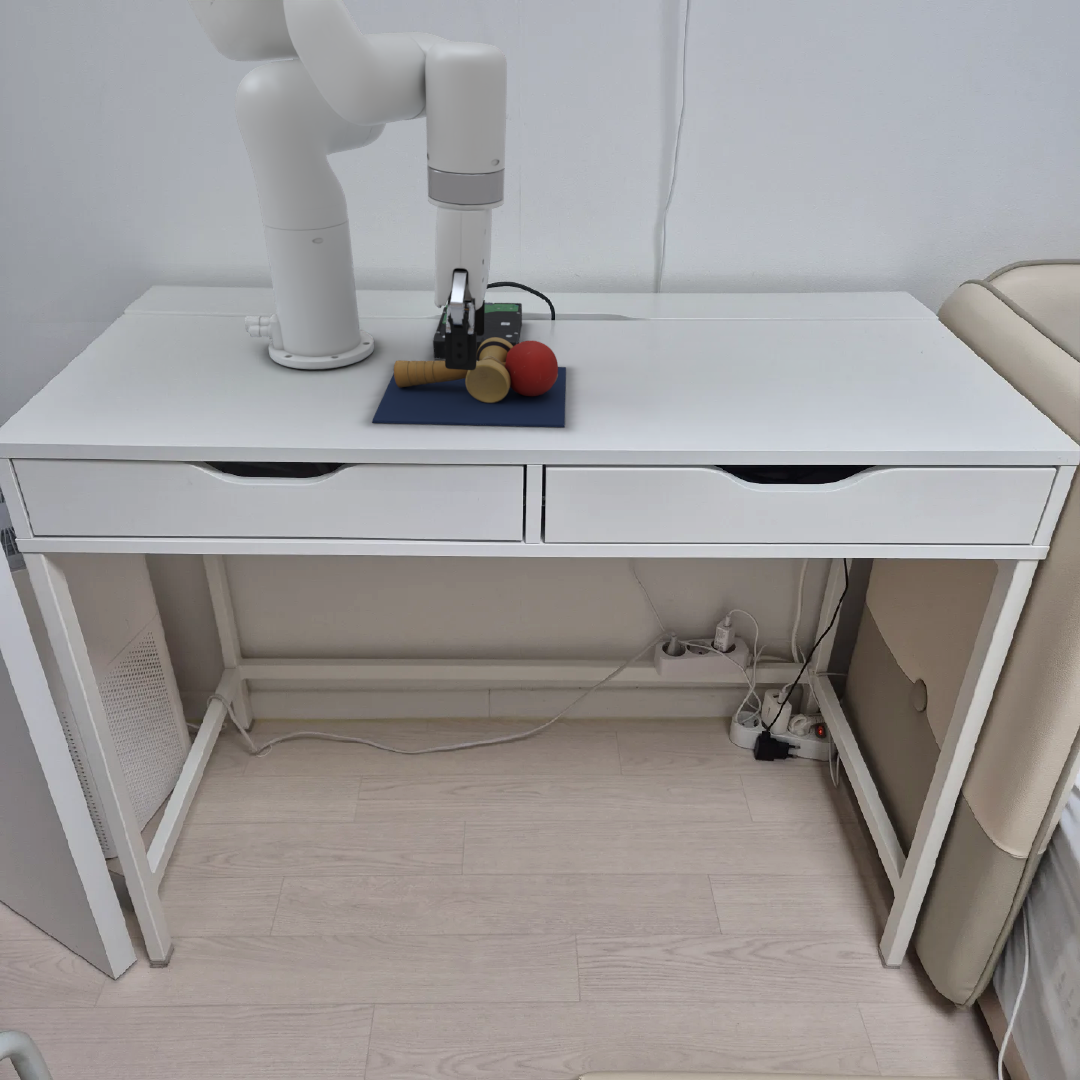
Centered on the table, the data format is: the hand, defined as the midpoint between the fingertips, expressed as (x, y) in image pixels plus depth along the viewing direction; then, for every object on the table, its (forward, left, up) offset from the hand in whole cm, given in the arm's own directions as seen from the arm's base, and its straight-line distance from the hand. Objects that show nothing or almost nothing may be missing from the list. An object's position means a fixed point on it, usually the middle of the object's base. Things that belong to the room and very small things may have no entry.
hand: (465, 350), depth 98 cm
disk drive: (0, +16, -5) cm, 17 cm away
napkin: (+1, -1, -5) cm, 5 cm away
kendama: (+1, -1, -5) cm, 5 cm away
